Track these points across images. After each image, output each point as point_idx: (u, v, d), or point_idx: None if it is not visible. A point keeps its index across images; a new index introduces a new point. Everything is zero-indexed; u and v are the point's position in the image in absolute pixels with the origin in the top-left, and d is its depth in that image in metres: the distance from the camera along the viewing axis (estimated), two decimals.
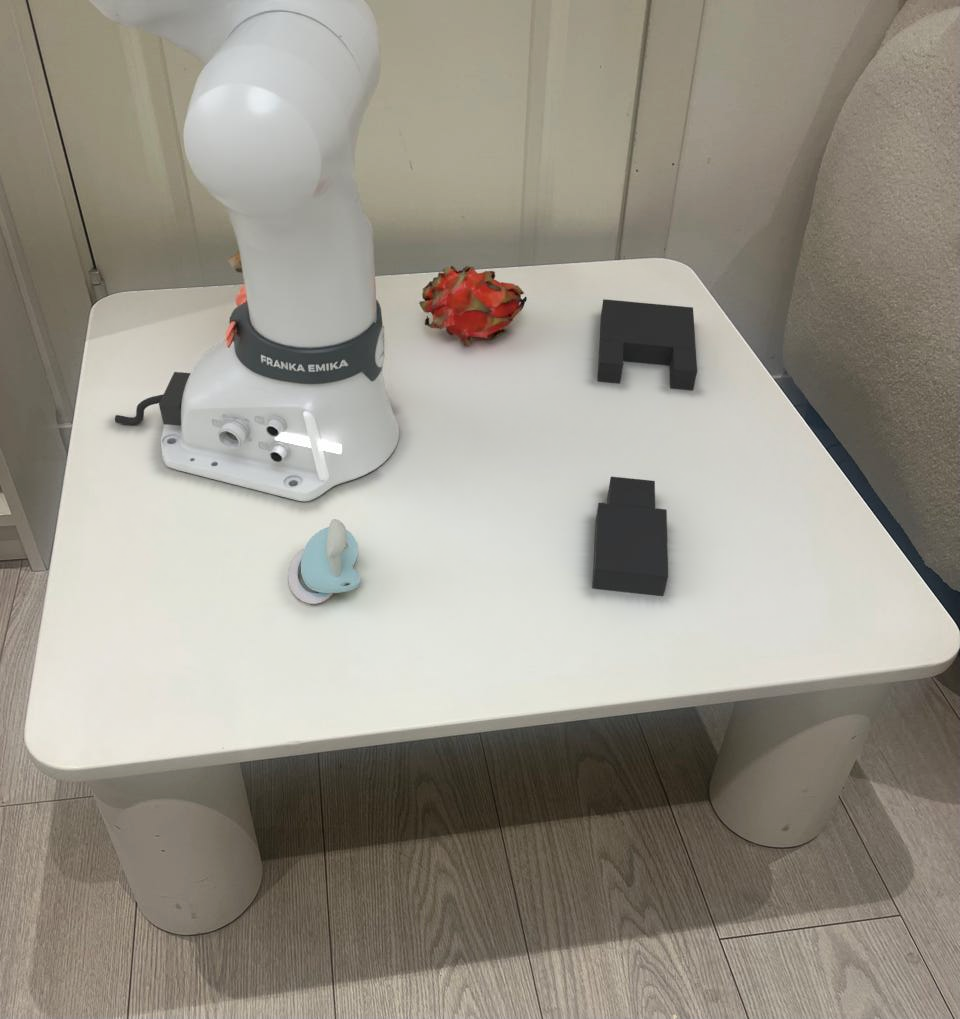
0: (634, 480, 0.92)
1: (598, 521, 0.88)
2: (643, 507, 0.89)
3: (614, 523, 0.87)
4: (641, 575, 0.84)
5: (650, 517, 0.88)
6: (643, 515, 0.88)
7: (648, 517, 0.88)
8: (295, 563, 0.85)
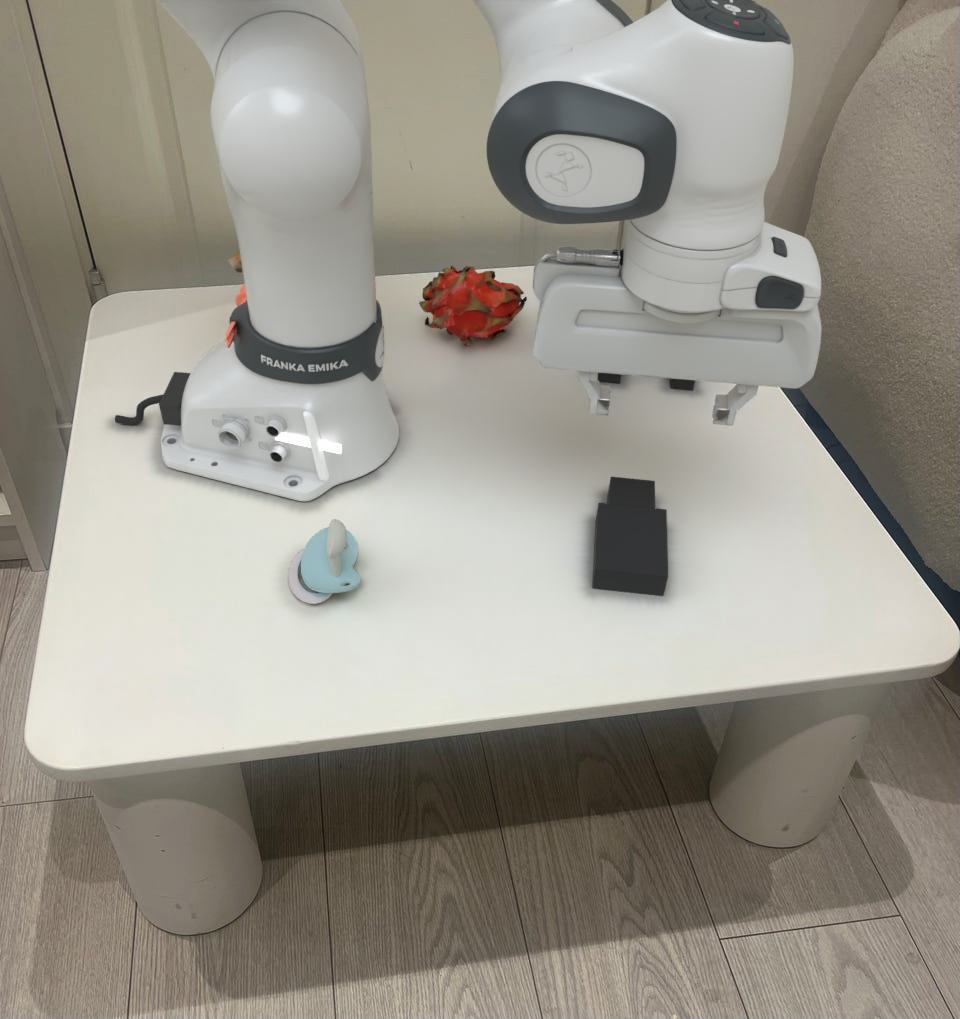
0: (634, 480, 0.92)
1: (598, 521, 0.88)
2: (643, 507, 0.89)
3: (614, 523, 0.87)
4: (641, 575, 0.84)
5: (650, 517, 0.88)
6: (643, 515, 0.88)
7: (648, 517, 0.88)
8: (295, 563, 0.85)
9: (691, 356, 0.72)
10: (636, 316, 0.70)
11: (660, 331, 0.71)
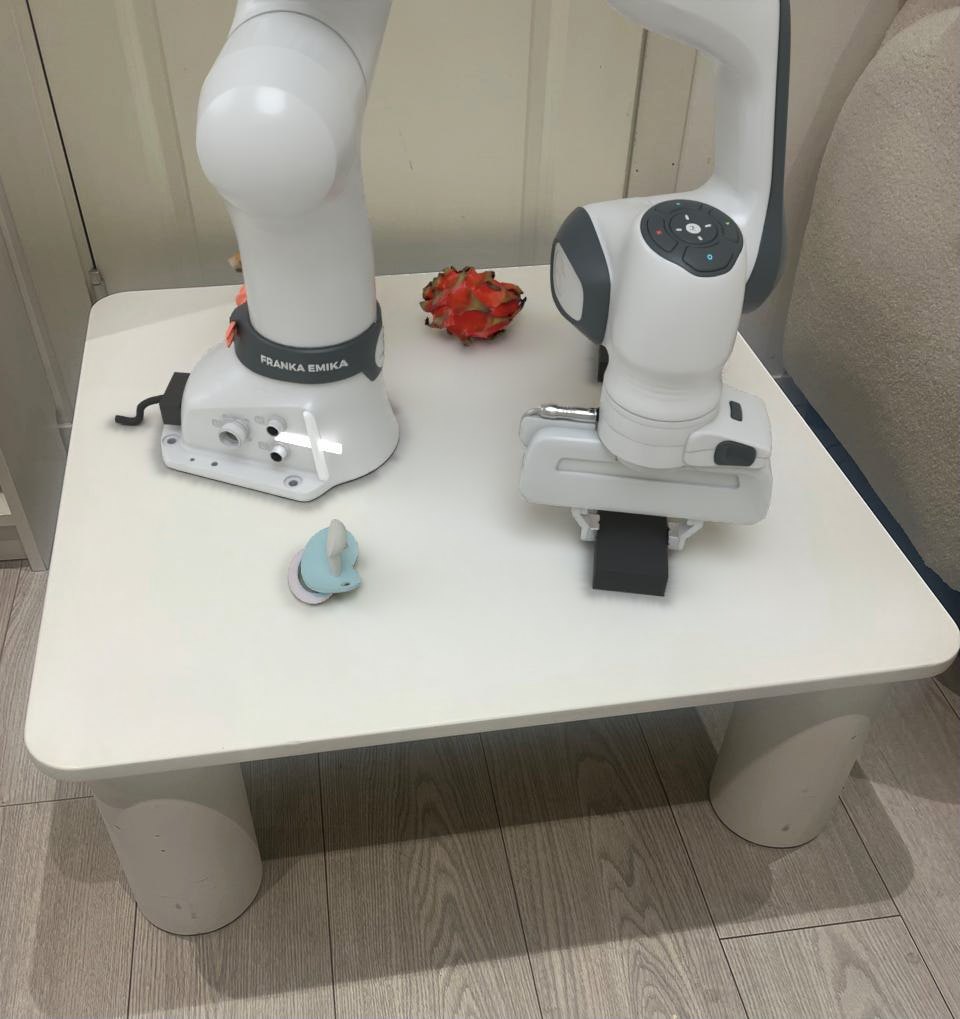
0: None
1: None
2: None
3: (614, 524, 0.87)
4: (641, 576, 0.84)
5: (651, 518, 0.88)
6: (643, 515, 0.88)
7: (648, 517, 0.88)
8: (295, 563, 0.85)
9: (659, 497, 0.81)
10: (610, 463, 0.80)
11: (631, 477, 0.80)
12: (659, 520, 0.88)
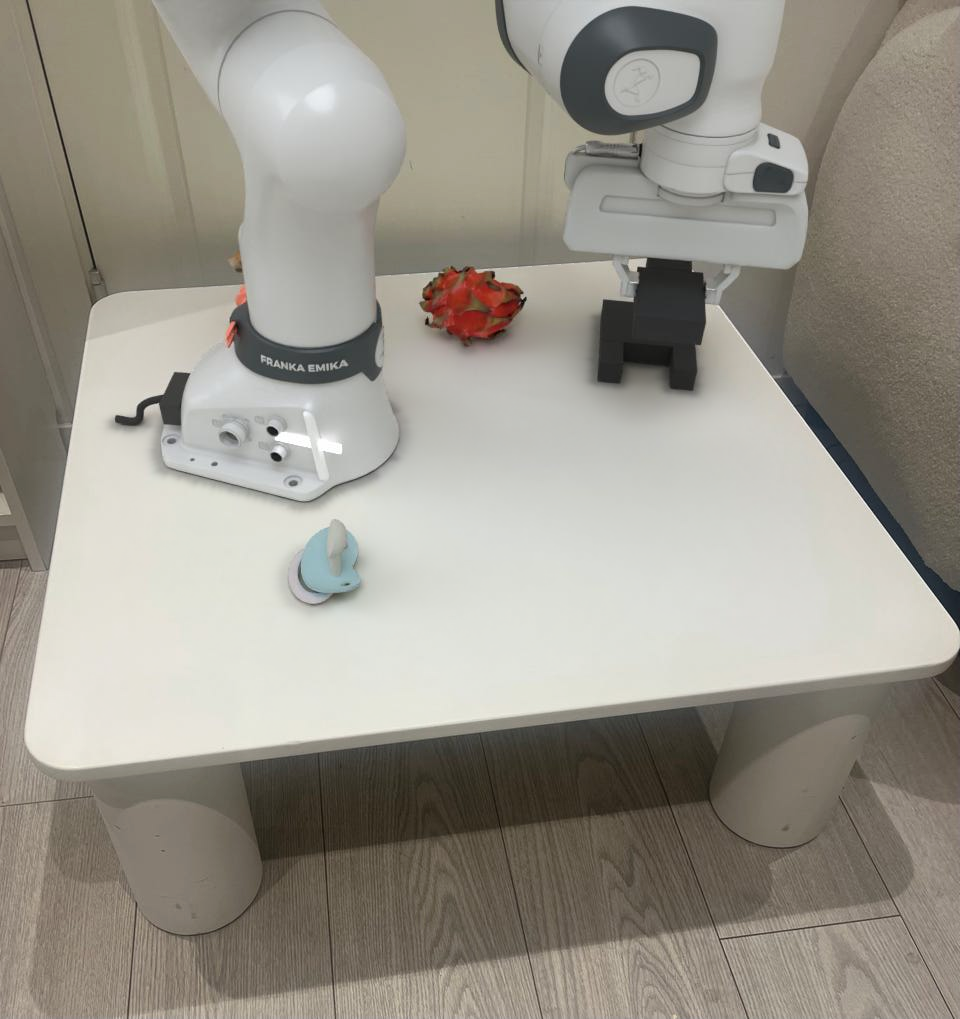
0: None
1: None
2: (681, 270, 0.92)
3: (653, 282, 0.91)
4: (680, 321, 0.87)
5: (688, 278, 0.91)
6: (681, 276, 0.92)
7: (686, 278, 0.91)
8: (295, 563, 0.85)
9: (698, 239, 0.84)
10: (652, 202, 0.83)
11: (671, 216, 0.84)
12: (696, 280, 0.91)
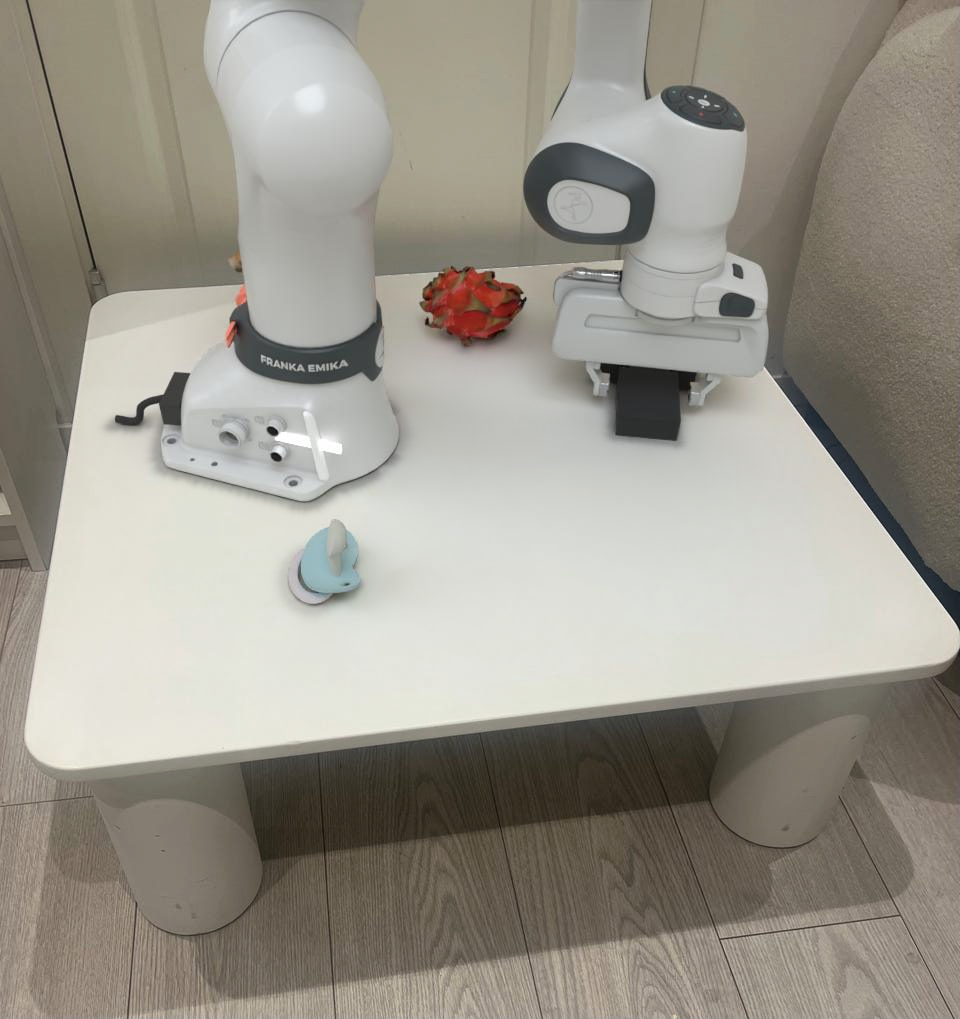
0: None
1: (620, 380, 1.02)
2: (658, 370, 1.04)
3: (633, 382, 1.02)
4: (657, 421, 0.98)
5: (664, 378, 1.03)
6: (658, 376, 1.03)
7: (662, 378, 1.03)
8: (295, 563, 0.85)
9: (672, 351, 0.95)
10: (631, 320, 0.94)
11: (648, 332, 0.94)
12: (672, 379, 1.03)
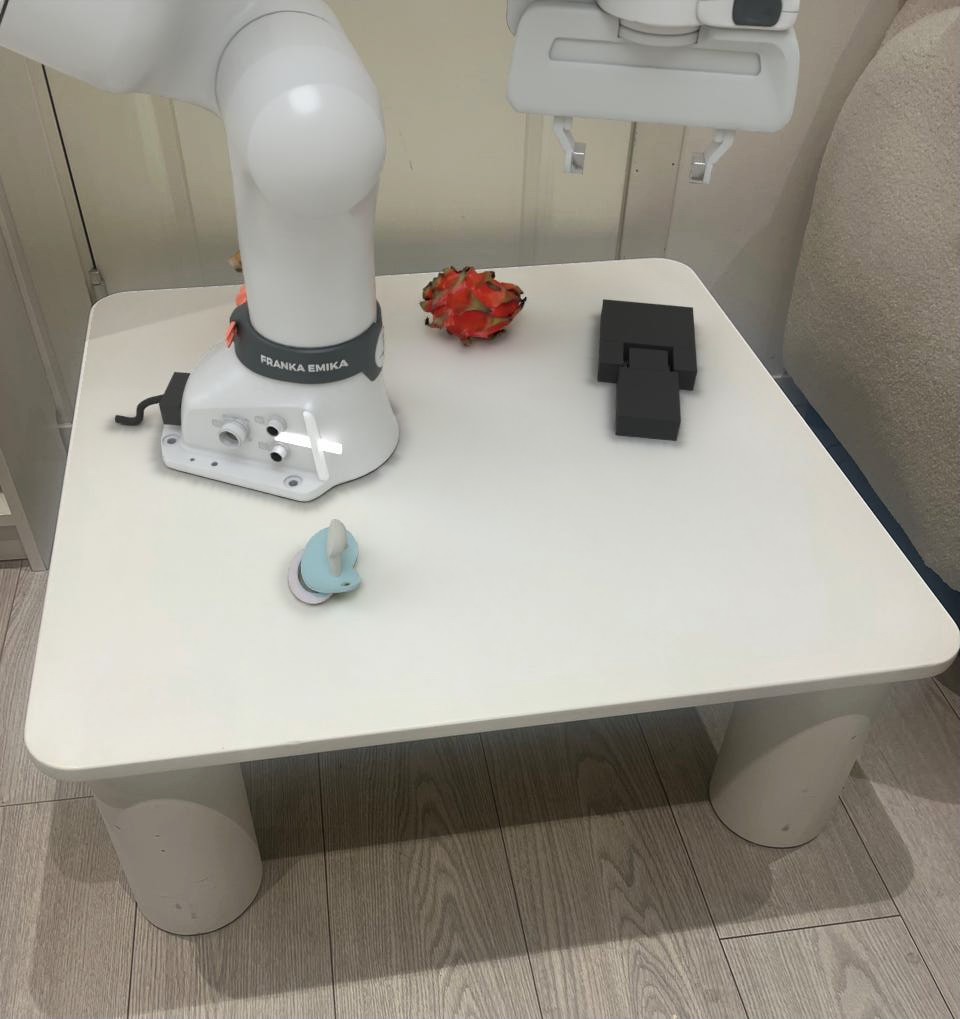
0: (649, 350, 1.06)
1: (620, 380, 1.02)
2: (658, 370, 1.04)
3: (633, 382, 1.02)
4: (657, 421, 0.98)
5: (664, 378, 1.03)
6: (658, 376, 1.03)
7: (662, 378, 1.03)
8: (295, 563, 0.85)
9: (667, 94, 0.70)
10: (612, 46, 0.69)
11: (635, 65, 0.69)
12: (672, 379, 1.03)
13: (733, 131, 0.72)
